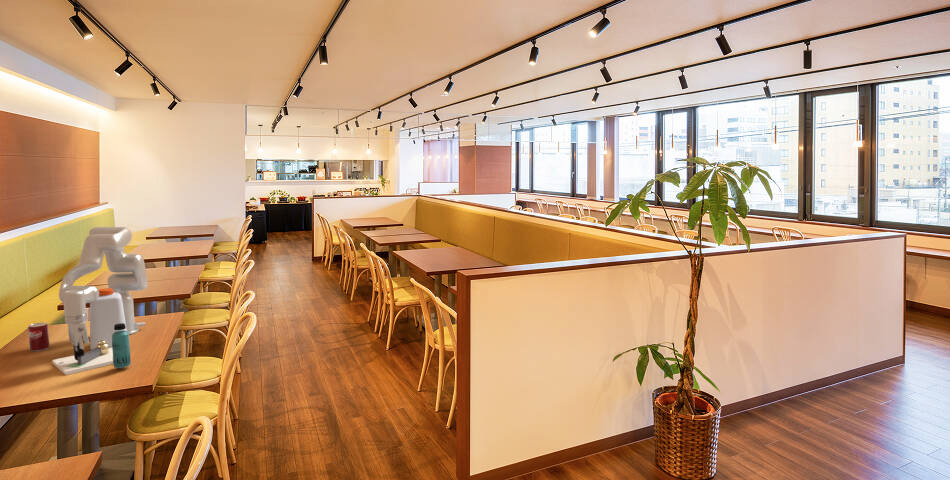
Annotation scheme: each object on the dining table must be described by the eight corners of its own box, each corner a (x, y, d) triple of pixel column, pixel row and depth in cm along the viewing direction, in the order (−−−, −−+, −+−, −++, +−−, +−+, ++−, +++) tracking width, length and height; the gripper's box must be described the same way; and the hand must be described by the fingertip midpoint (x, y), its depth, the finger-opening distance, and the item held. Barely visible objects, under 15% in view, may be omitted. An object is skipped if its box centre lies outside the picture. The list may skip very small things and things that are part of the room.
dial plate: (112, 350, 252) (112, 346, 252) (128, 360, 240) (127, 356, 239) (52, 363, 234) (52, 359, 234) (65, 375, 222) (65, 371, 222)
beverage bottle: (118, 366, 233) (115, 321, 230) (134, 365, 234) (131, 321, 231) (110, 371, 227) (106, 326, 224) (126, 371, 227) (123, 326, 224)
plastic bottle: (129, 347, 256) (125, 290, 253) (90, 353, 247) (86, 294, 244) (126, 339, 268) (122, 284, 265) (89, 344, 259) (85, 288, 255)
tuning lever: (101, 351, 245) (100, 339, 244) (110, 351, 245) (109, 339, 244) (74, 364, 228) (73, 352, 228) (84, 364, 228) (83, 352, 228)
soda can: (38, 352, 247) (36, 327, 246) (25, 351, 249) (23, 326, 247) (53, 347, 254) (51, 323, 253) (41, 346, 256) (39, 321, 254)
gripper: (91, 320, 228) (95, 361, 231) (81, 313, 237) (84, 352, 240) (70, 324, 222) (74, 365, 225) (60, 316, 231) (64, 357, 234)
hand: (79, 358), depth 232 cm, fingers closed
